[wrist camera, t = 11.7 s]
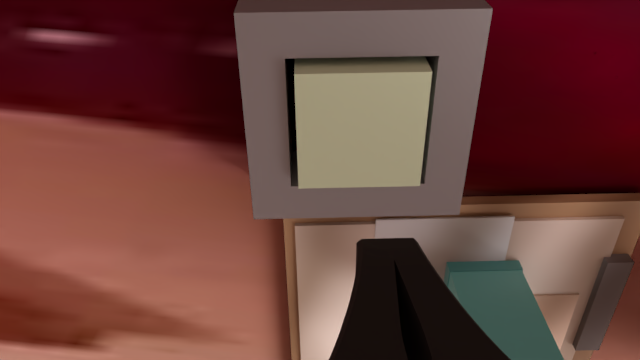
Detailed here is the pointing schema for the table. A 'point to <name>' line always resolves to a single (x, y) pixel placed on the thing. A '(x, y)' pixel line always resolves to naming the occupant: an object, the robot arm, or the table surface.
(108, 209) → the table surface
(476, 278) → the teal rimmed box
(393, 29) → the button housing
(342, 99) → the button
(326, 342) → the clipboard
